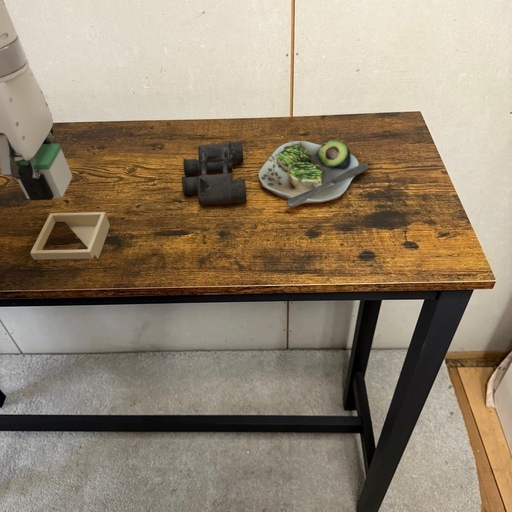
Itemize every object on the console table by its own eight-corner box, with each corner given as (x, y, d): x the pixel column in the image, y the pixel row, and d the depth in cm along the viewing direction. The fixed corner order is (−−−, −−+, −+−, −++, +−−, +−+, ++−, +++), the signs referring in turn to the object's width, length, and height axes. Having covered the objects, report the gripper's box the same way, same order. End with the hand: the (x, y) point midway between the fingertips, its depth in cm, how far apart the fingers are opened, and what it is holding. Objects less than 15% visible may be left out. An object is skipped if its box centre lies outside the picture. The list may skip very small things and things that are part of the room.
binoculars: (183, 212, 78) (177, 182, 74) (187, 159, 89) (182, 131, 85) (247, 207, 78) (245, 177, 74) (243, 155, 89) (240, 126, 85)
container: (26, 199, 64) (9, 165, 60) (39, 177, 67) (23, 144, 63) (62, 198, 63) (47, 164, 59) (73, 176, 67) (59, 143, 63)
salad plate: (333, 228, 74) (336, 205, 70) (239, 197, 80) (237, 176, 77) (373, 165, 85) (376, 143, 82) (287, 143, 92) (287, 122, 88)
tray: (37, 267, 70) (29, 253, 68) (56, 226, 77) (50, 213, 75) (96, 266, 70) (89, 252, 68) (110, 225, 76) (105, 211, 74)
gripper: (-11, 32, 58) (44, 153, 71) (-81, 95, 46) (0, 226, 59) (47, 29, 58) (91, 152, 71) (-10, 92, 46) (56, 225, 59)
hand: (49, 185), depth 65 cm, fingers closed on container, 5 cm apart
